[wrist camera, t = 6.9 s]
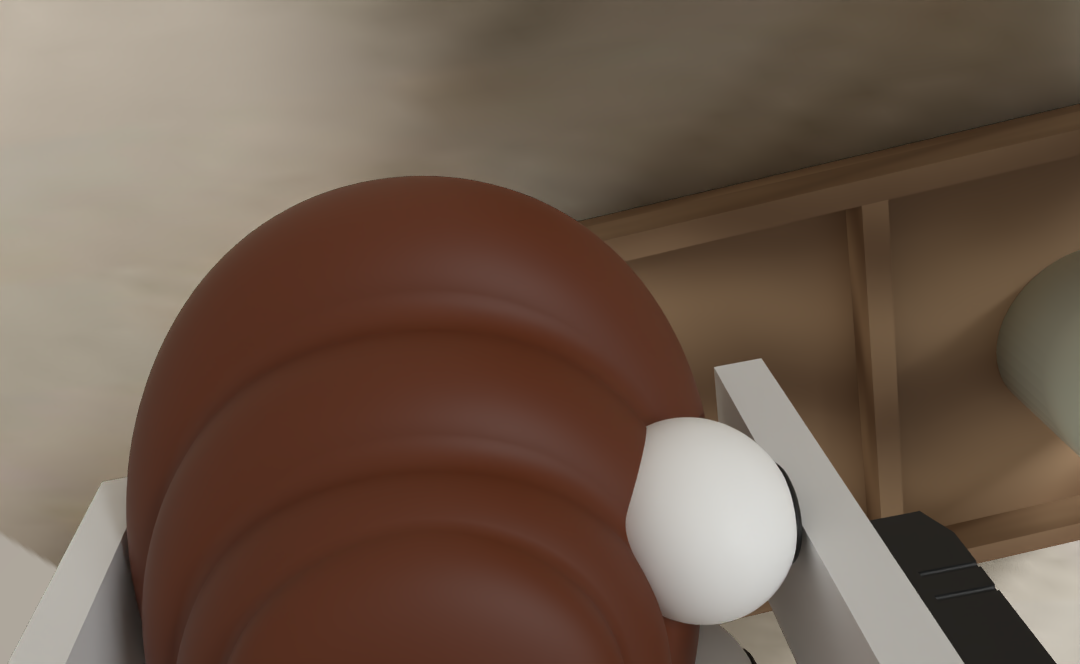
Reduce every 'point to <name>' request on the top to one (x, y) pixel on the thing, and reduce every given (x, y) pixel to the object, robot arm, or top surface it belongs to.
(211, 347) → the poop emoji
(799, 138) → the top surface
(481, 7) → the top surface
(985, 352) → the divided wooden tray
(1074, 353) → the jar
